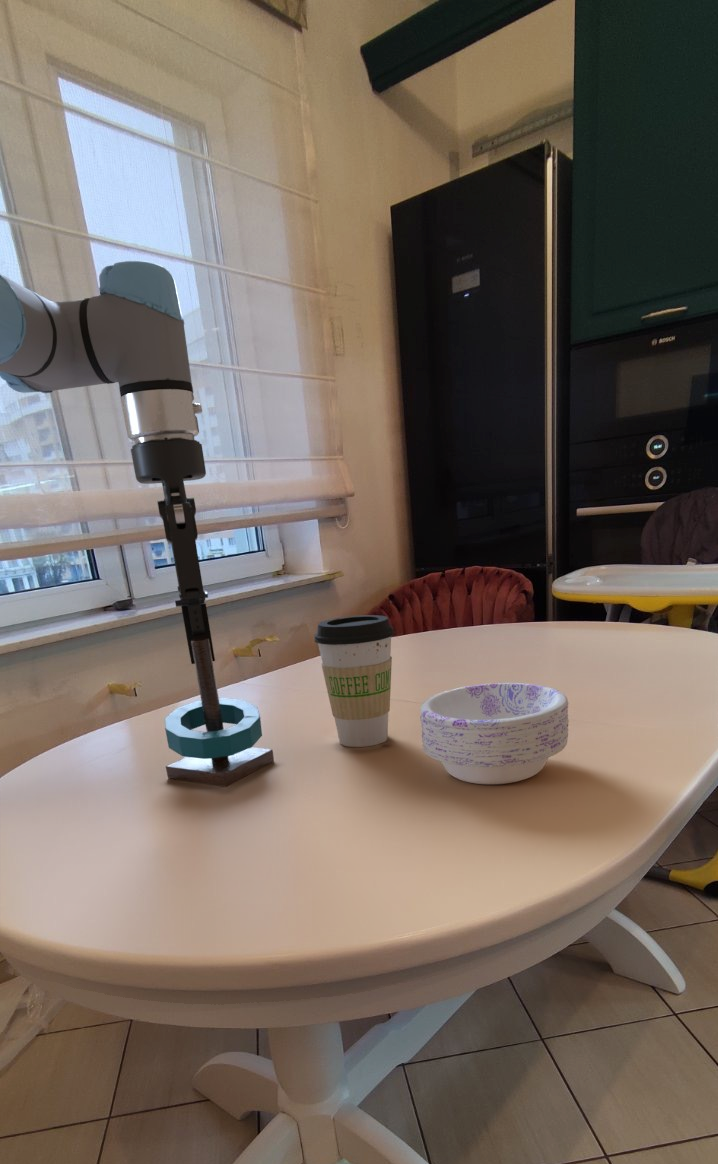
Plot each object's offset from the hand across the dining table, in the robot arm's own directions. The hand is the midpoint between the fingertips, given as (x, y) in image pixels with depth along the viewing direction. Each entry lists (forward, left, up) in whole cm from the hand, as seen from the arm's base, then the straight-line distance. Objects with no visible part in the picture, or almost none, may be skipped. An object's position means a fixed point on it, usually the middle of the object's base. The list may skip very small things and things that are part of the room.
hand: (202, 658), depth 86 cm
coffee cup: (+14, +12, -13) cm, 22 cm away
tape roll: (+3, -3, -9) cm, 10 cm away
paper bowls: (+34, +6, -13) cm, 37 cm away
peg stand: (+3, -3, -13) cm, 13 cm away
